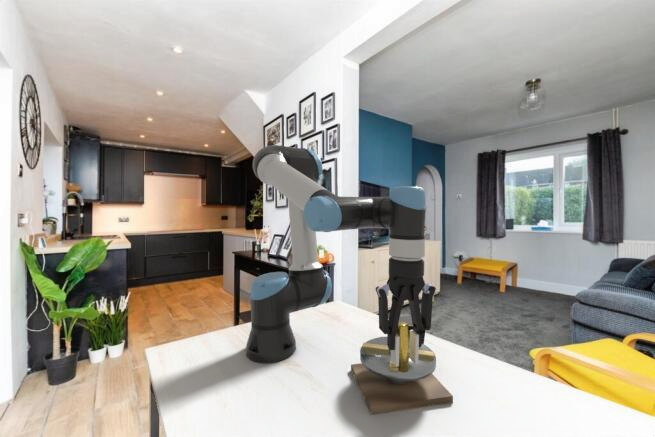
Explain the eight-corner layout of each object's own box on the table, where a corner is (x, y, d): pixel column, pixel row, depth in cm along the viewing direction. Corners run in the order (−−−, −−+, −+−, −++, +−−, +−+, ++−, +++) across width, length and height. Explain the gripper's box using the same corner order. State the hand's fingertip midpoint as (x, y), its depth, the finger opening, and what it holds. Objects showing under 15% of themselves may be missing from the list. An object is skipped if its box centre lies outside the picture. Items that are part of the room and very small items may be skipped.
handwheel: (352, 373, 65) (352, 323, 64) (367, 338, 82) (366, 298, 81) (438, 387, 59) (437, 332, 59) (434, 346, 76) (434, 304, 76)
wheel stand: (351, 369, 77) (350, 348, 77) (416, 362, 81) (416, 341, 80) (371, 414, 61) (371, 386, 60) (452, 402, 64) (452, 376, 64)
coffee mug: (428, 361, 81) (428, 327, 80) (397, 359, 83) (396, 325, 82) (423, 342, 92) (423, 312, 92) (395, 340, 94) (395, 310, 94)
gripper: (431, 253, 68) (429, 349, 69) (363, 255, 65) (362, 357, 66) (451, 259, 61) (448, 367, 62) (376, 262, 57) (374, 376, 58)
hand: (404, 361), depth 64 cm, fingers open, 4 cm apart
